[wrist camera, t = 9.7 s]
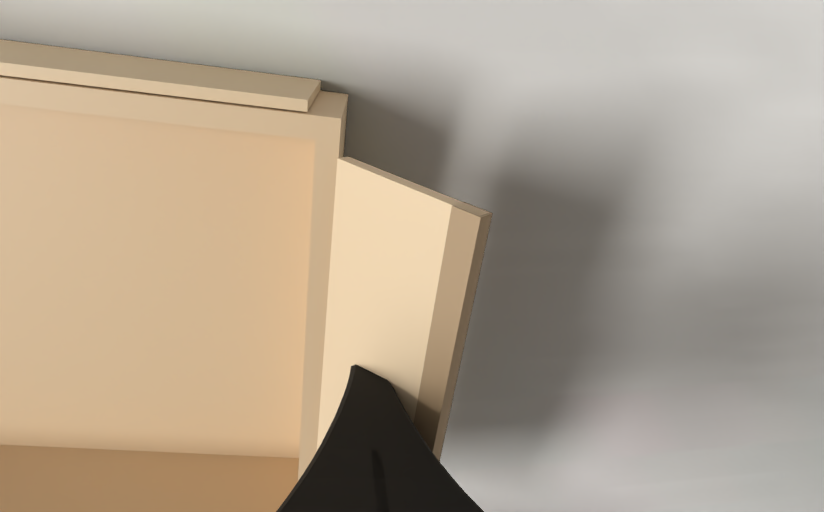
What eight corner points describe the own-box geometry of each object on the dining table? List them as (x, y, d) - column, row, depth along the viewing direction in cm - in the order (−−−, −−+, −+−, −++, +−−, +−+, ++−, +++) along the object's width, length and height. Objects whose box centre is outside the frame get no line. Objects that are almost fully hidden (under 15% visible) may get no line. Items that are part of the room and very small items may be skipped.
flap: (319, 528, 16) (405, 616, 14) (309, 535, 16) (397, 627, 14) (349, 156, 11) (492, 212, 9) (336, 158, 11) (480, 217, 9)
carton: (320, 465, 19) (311, 542, 16) (-101, 447, 18) (-188, 528, 15) (348, 83, 13) (342, 105, 11) (-281, 2, 12) (-478, 4, 9)
